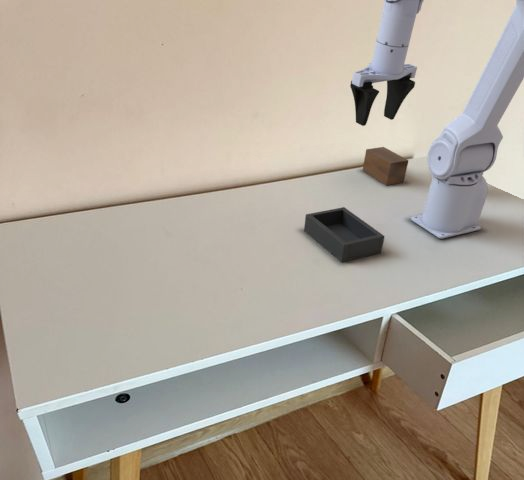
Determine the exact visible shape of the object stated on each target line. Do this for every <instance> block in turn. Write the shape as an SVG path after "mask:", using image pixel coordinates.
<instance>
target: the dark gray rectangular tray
mask: <svg viewBox="0 0 524 480" xmlns="http://www.w3.org/2000/svg"><path fill="white" fill-rule="evenodd" d="M303 232H305V233H306V234H307V235H308V236H309V237H310V238H312V239H313V240H314V241H315V242H317V243H318V244H319V245H320V246H321V247H322V248H324V249H325V250H326V251H327V252H328V253H330V254H331V255H332V256H333V257H335V259H337V260H338V261H339V262H340V263H345V262H349V261H354V260H357V259H361V258H365V257H370V256H374V255H377V254H381V253H382V250H383V245H384V242H385V236H386V235H384V234H382V233H381V232H379V231H378V230H377V229H375V228H374V227H373V226H371V225H370V224H369V223H367V222H366V221H364V220H363V219H361V218H360V217H358V216H357V215H356V214H354V213H353V212H351V211H350V210H349V209H347V208H346V207H345V206H342V207H338V208H331V209H327V210H326V209H325V210H321V211H316V212H311V213H306V214H305V217H304V228H303Z"/></svg>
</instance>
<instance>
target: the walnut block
mask: <svg viewBox="0 0 524 480" xmlns="http://www.w3.org/2000/svg"><path fill="white" fill-rule="evenodd" d="M409 161H410V160H409V159H407V158H405V157H403V156H401V155H400V154H398V153H396V152H394V151H393V150H390V149H388V148H387V147H385V146H380V147H373V148H367V149H365V154H364V160H363V167H362V172H364V173H365V174H367V175H368V176H369V177H372V178H373V179H375V180H376V181H378V182H380V183H382V184H383V185H385V186H390V185H396V184H402V183H404V182H405V178H406V174H407V169H408V166H409Z"/></svg>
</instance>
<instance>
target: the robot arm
mask: <svg viewBox="0 0 524 480" xmlns="http://www.w3.org/2000/svg"><path fill="white" fill-rule="evenodd" d="M424 1H425V0H384V1H383V6H382V12H381V16H380V21H379V26H378V30H377V35H376V40H375V45H374V50H373V54H372V60H371V62H368V63H367V66H366V67H364V68H362V69H360V70H357V71H353V73H352V79H351V80H350V85H349V86H350V90H351V92H352V96H353V102H354V110H355V111H354V112H355V123H356V124H358V125H360V126H362V127H365V126H366V125H367V123H368V120H369V118H370V114H371V110H372V107H373V104H374V103H375V100H376V98H377V97H378V95H379V93H380V91H379V90H378V89H377V88H374V85H373V84H376V83H383V82H386V98H385V103H384V110H383V117H385V118H386V119H388V120H390V121H393V120H395V117H396V115H397V113H398V111H399V110H400V107H401V106H402V104H403V102H404V101H405V99H406V97H408V95H409V94H410V93H411V91H412V90H413V89H414V88H415V86H416V81H414V80H413V79H415V78H416V75H417V74H416V73H417V70H418V66H416V65H414V64H411V63H407V64H406V63H405V62H406V58H407V56H408V55H407V54H408V50H409V46H410V42H411V38H412V33H413V30H414V26H415V22H416V18H417V15H418V14H419V13H420V12H421V10H422V5H423V3H424ZM515 2H516V3H515V7H513V11H512V12H511V15H510V16H509V19H508V21H507V22H506V24H505V27H504V28H503V31H502V33H501V35H500V37H499V39H498V41H497V42H496V45H495V47H494V49H493V51H492V53H491V54H490V57H489V58H488V61H487V63H486V64H485V67H484V69H483V71H482V73H481V75H480V77H479V79H478V81H477V83H476V85H475V87H474V89H473V91H472V93H471V95H470V97H469V99H468V101H467V104H466V105H465V107H464V109H463V111H462V113H461V114H460V115H459V116H457V117H456V118H455V119H453V120H452V121H450V122H449V123H448V124H447V125H445V126H444V127H443V129H442V131H441V133H440V135H439V136H438V137H437V138H435V139H434V140H433V141H432V143H431V145H430V146H429V148H428V151H427V158H426V159H427V166H428V169H429V171H430V172H429V173H430V176H432V178H431V182H430V186H429V189H428V194H427V197H426V200H425V205H424V209H423V213H422V214H419V215H413V216H411V217H410V220H411V221H412V222H413V223H415V224H416V225H418V226H419V227H421V228H422V229H424V230H425V231H427V232H429V233H430V234H431V235H433V236H434V237H436V238H438V239H441V240H443V239H446V238H450V237H455V236H460V235H463V234H467V233H472V232H475V231H476V232H477V231H480V230H481V226H480V225H479V221H480V217H481V215H482V213H483V208H484V206H485V203H486V199H487V197H488V193H489V188H488V182H487V179H486V178H485V177H484V176H483V175H484V173H486V172H487V171H489V170H490V169H491V168H492V167H493V165H494V164H495V162H496V159H497V157H498V156H497V155H498V150H499V146H500V144H501V142H502V140H503V138H504V136H503V133H502V132H501V129H500V127H499V126H498V125H499V123H500V121H501V119H502V118H503V116H504V114H505V113H506V111H507V109H508V108H509V105H510V103H511V102H512V100H513V99H514V96H515V94H516V93H517V91H518V89H519V88H520V86H521V84H522V82H523V81H524V0H515Z"/></svg>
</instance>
